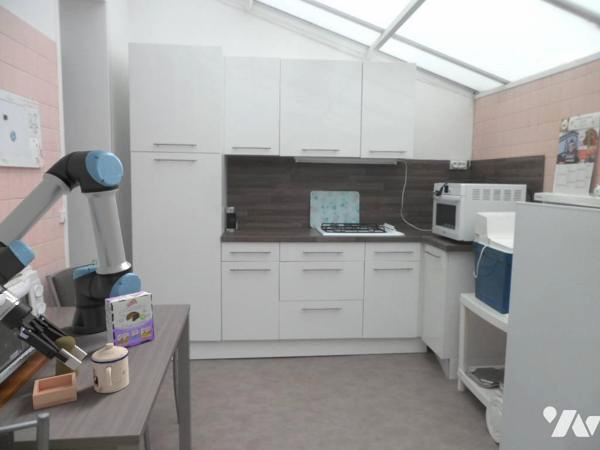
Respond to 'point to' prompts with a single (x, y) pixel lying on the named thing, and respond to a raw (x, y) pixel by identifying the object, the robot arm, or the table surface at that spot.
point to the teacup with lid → (110, 368)
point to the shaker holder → (54, 390)
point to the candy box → (129, 319)
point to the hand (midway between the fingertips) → (80, 361)
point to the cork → (67, 345)
